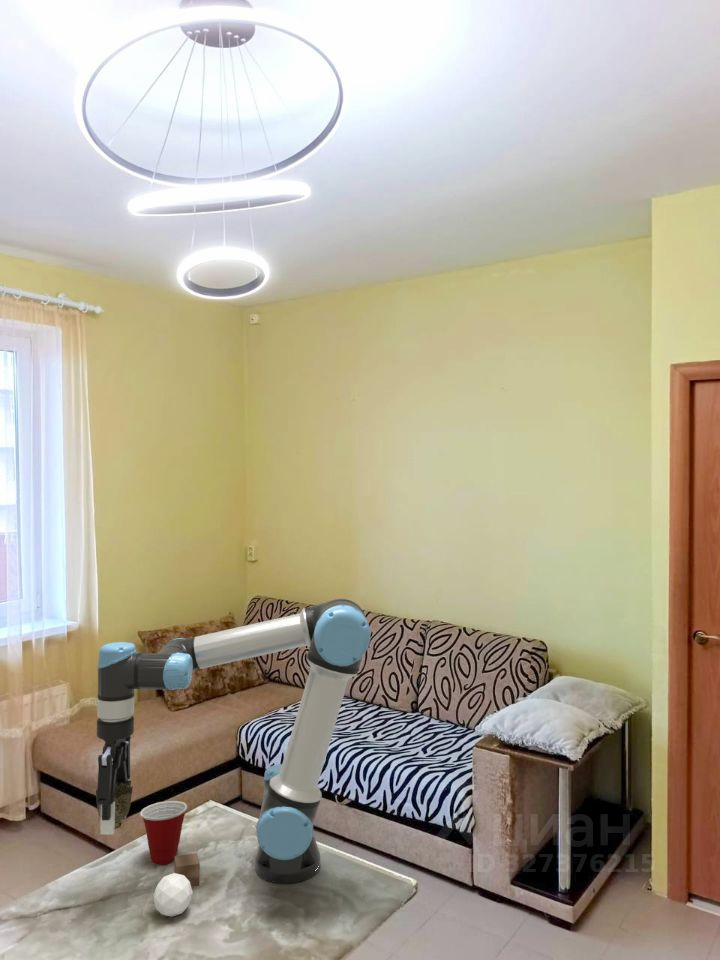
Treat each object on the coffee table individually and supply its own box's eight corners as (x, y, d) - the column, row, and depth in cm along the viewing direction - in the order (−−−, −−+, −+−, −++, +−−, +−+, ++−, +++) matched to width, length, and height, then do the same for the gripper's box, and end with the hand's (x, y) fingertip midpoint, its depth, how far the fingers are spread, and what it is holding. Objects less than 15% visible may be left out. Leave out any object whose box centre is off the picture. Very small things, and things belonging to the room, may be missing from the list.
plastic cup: (166, 843, 178) (167, 794, 178) (195, 856, 171) (196, 805, 172) (129, 860, 169) (130, 809, 169) (159, 875, 162) (160, 822, 163)
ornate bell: (120, 836, 148) (120, 797, 148) (87, 832, 149) (88, 794, 150) (138, 820, 155) (139, 783, 155) (107, 817, 157) (108, 780, 157)
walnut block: (196, 874, 163) (196, 852, 163) (199, 886, 159) (199, 863, 159) (174, 878, 162) (174, 856, 162) (176, 890, 157) (176, 866, 157)
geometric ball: (178, 920, 150) (200, 882, 153) (176, 928, 143) (198, 887, 146) (148, 901, 150) (170, 863, 154) (143, 908, 143) (167, 868, 146)
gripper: (113, 703, 163) (111, 805, 162) (80, 731, 143) (77, 848, 142) (146, 703, 163) (144, 805, 162) (117, 732, 143) (115, 848, 142)
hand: (113, 825), depth 152 cm, fingers closed on ornate bell, 7 cm apart
